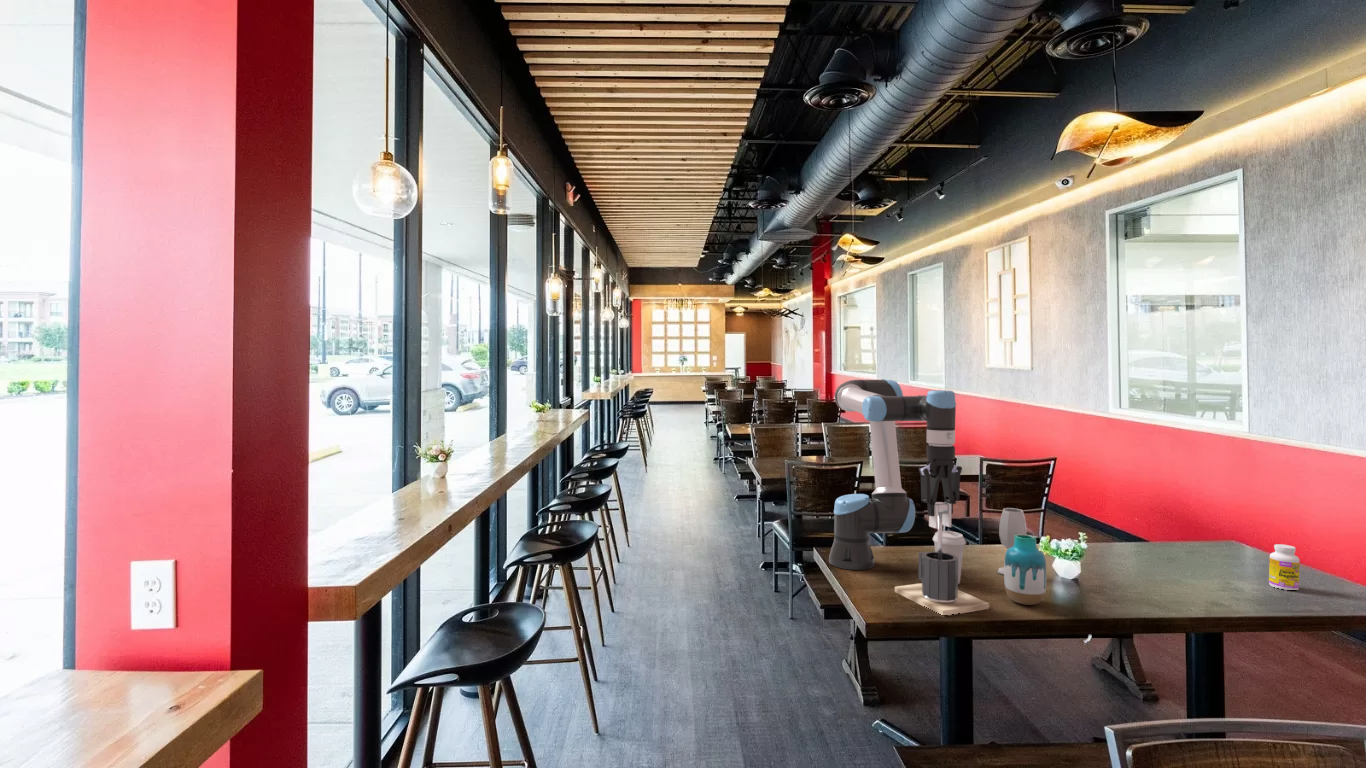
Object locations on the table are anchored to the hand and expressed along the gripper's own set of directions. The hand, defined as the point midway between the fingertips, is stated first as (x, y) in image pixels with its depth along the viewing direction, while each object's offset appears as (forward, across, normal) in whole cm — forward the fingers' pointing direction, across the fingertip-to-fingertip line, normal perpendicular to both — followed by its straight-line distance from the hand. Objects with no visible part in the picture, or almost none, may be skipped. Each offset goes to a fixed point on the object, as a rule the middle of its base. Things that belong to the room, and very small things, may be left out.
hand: (940, 526), depth 179 cm
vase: (+22, +23, -8) cm, 33 cm away
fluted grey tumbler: (+21, 0, +1) cm, 21 cm away
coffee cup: (+22, +16, +14) cm, 31 cm away
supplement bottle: (+22, +108, -25) cm, 113 cm away
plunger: (+14, 0, 0) cm, 14 cm away
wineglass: (+22, +41, +13) cm, 48 cm away
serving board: (+22, +2, +2) cm, 22 cm away
